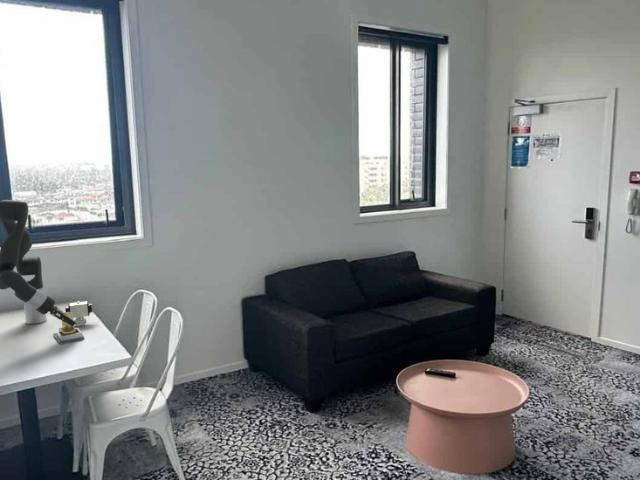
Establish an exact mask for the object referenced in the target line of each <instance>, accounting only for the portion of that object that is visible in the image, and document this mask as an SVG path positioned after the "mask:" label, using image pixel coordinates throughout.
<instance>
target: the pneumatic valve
mask: <svg viewBox="0 0 640 480" xmlns="http://www.w3.org/2000/svg"><path fill="white" fill-rule="evenodd" d="M64 308H65V309H64V310H65V312H73V318H75V319H74V321H75V324H74V326H76V327H82V326H83V327H84V326H85V325H86V324H87V319H86V318H85V317H89V316H90V314H91V313H93V304H92V303H90V302H89V301H79V300H78V301H76V302H71V303H68V305H67V306H65V307H64Z"/></svg>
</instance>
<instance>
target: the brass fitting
mask: <svg viewBox="0 0 640 480" xmlns="http://www.w3.org/2000/svg"><path fill="white" fill-rule="evenodd" d="M64 313H65V315H66V316H67V317H69V318H70V319H71V320H73V321H74V320H75V319H74V318H73V312H66V311H65V312H64ZM62 319H63V320H64V319H65V317H63V318H62ZM61 325H62V327H61V328H62V329H63V331H62V334H63V335H69V334H73V333H75V332H76V331H75V329H74V328H75V325H74V326H71V325H69V324H68V323H66V322H63V321H62V320H61Z"/></svg>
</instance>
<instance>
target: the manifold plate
mask: <svg viewBox="0 0 640 480" xmlns="http://www.w3.org/2000/svg"><path fill="white" fill-rule="evenodd" d="M74 329H75V331H76V332H75V333H73V334H69V335H63V334H62V331H63V329H62V327H59V328H58V331H56V332H54V333H52V336H53V337H54V338H55V340H56V342H57V343H59V345H62V344H68V343H73V342H77V341H82V340H85V336H84V335H83V332H82V331H81V330H80V328H78V327H74Z"/></svg>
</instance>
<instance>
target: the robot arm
mask: <svg viewBox="0 0 640 480" xmlns="http://www.w3.org/2000/svg"><path fill="white" fill-rule="evenodd" d="M28 216H29V205H28V203H27V201H26V200H18V199H17V200H15V199H13V200H12V199H11V200H10V199H3V200H0V223H1V224H2V226H3V228H4V230H5V234H6V236H7V237H6V238H5V239H4V240H3V242H2V244H1V245H0V290H8V289H11V290H13V291H14V296H15V297H16V298H18V299H19V300H20V301H22V302H23V308H24V316H25V317H24V318H25V324H27V325H35V324H40V323H45V322H46V321H47V314H48V313H49V315H51V316H52V317H55V318H56V319H57V320H60V321H61V322H62V321H63V322H66V323H68V324H69V325H71V326H74V327H75V321H73V320H71V319H70V318H69V317H67V316H66V315H65V312H64V311H63V310H62V309H60V308H59V307H58V306H57V305H55V303H56V300H55V299H53V298H52V297H50V296H49V295H47V294H46V293H45V292H44V284H43V275H42V272H43V271H42V260H41V257H40V256H39V255H35V256H33V255H31V256H26V254H27V253H28V252H29V251H30V249H31V248H32V246H33V241H32V237H31V233H30V231H29V230H28V229H27V228H26V225H27V220H28ZM15 269H16V271H15ZM24 276H25V277H26V276H34V277H33V278H31V279H30V280H28V281H27V280H26V279H25V278H24ZM63 317H65V319H64V320H63V319H62V318H63Z"/></svg>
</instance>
